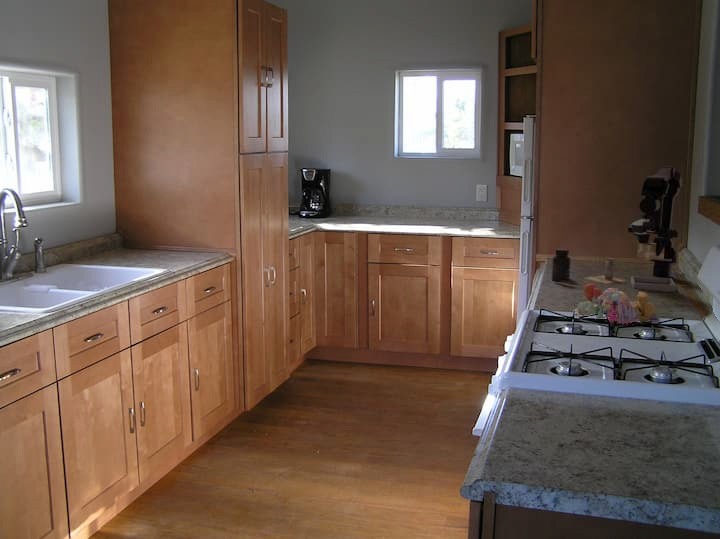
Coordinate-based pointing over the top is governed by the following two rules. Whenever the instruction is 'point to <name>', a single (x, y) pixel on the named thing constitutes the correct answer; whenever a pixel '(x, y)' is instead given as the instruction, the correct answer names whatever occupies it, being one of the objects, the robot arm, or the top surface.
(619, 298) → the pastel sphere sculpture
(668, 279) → the slate tray
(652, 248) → the hollow wooden box
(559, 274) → the supplement bottle
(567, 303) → the top surface
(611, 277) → the stake block
